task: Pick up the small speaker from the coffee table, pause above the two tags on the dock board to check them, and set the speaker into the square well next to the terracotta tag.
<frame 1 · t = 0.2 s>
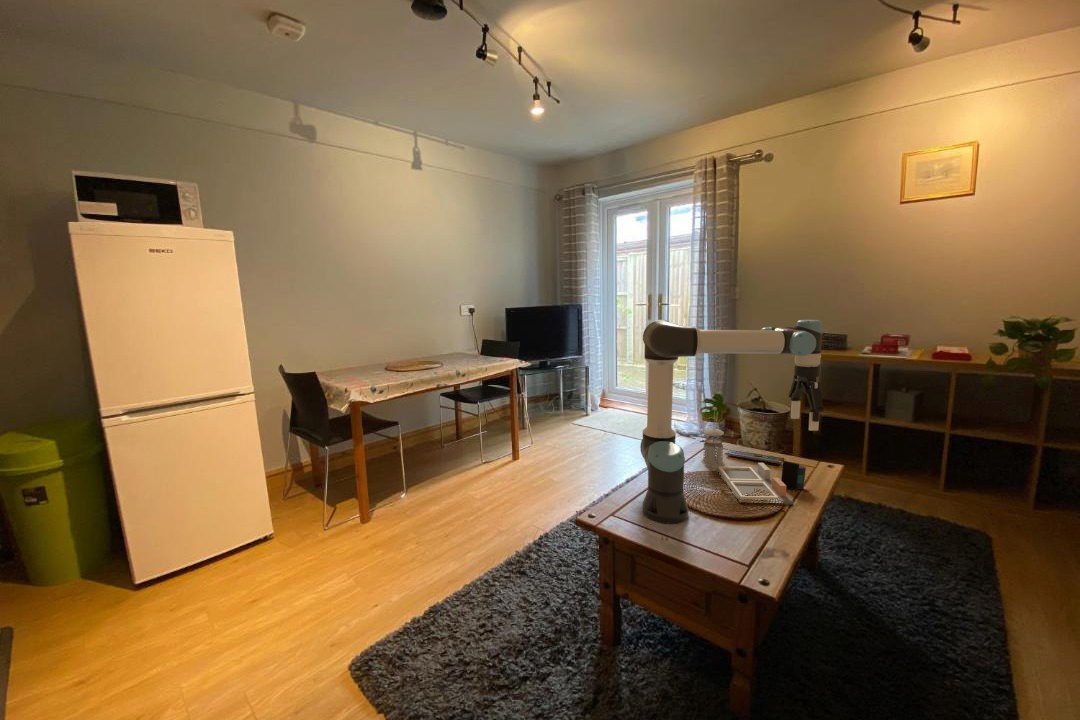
hand: (803, 424, 153), 27 cm above the table, tool pointing down, fingers open, 13 cm apart
speaker: (792, 487, 165), on the table
dock board: (751, 486, 166), on the table
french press: (713, 463, 189), on the table
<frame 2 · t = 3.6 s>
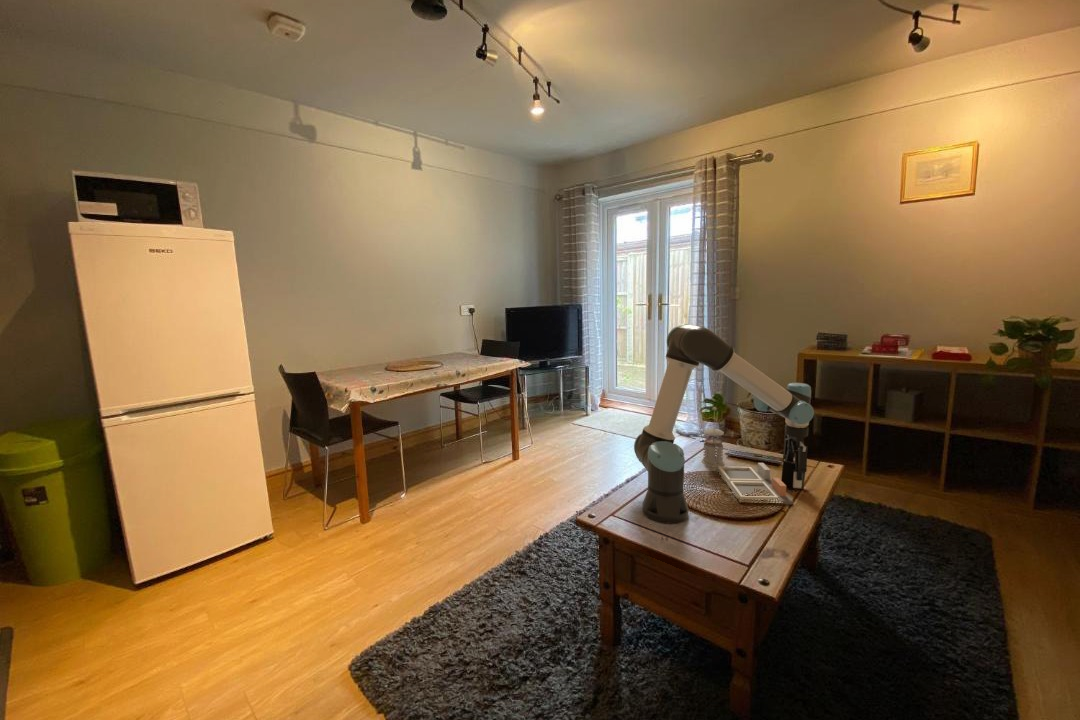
hand: (792, 483, 164), 1 cm above the table, tool pointing down, fingers closed on speaker, 6 cm apart
speaker: (792, 487, 165), on the table, touching gripper
everything else where it was.
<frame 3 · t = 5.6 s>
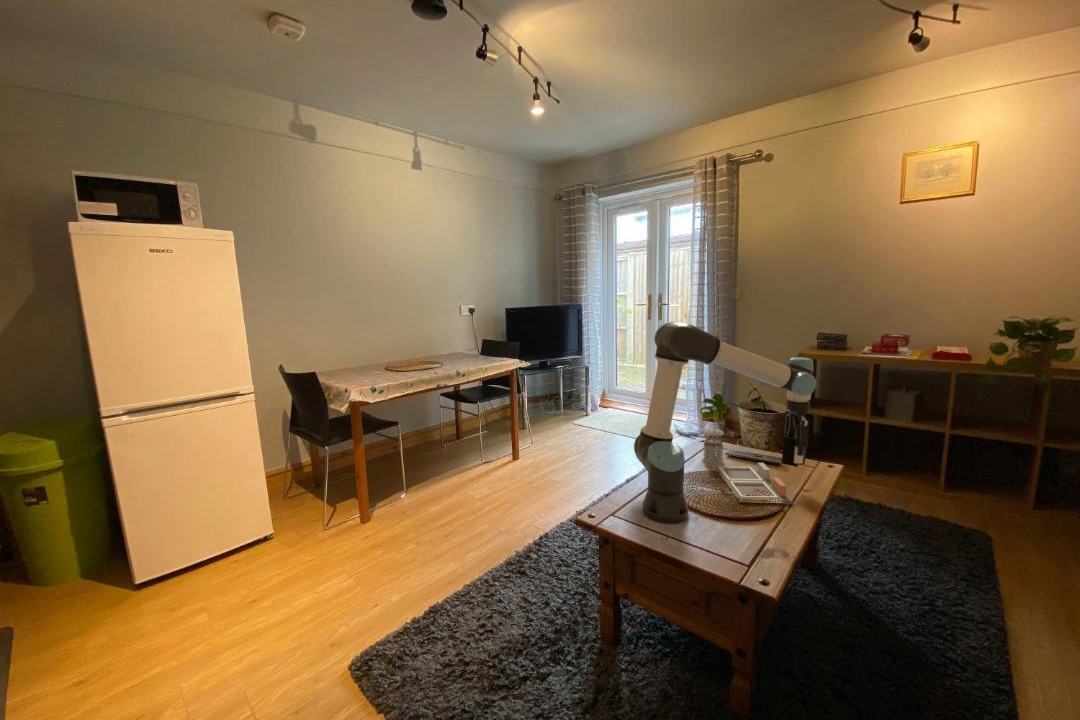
hand: (793, 459, 163), 11 cm above the table, tool pointing down, fingers closed on speaker, 6 cm apart
speaker: (793, 463, 163), point 9 cm above the table, touching gripper
everything else where it was.
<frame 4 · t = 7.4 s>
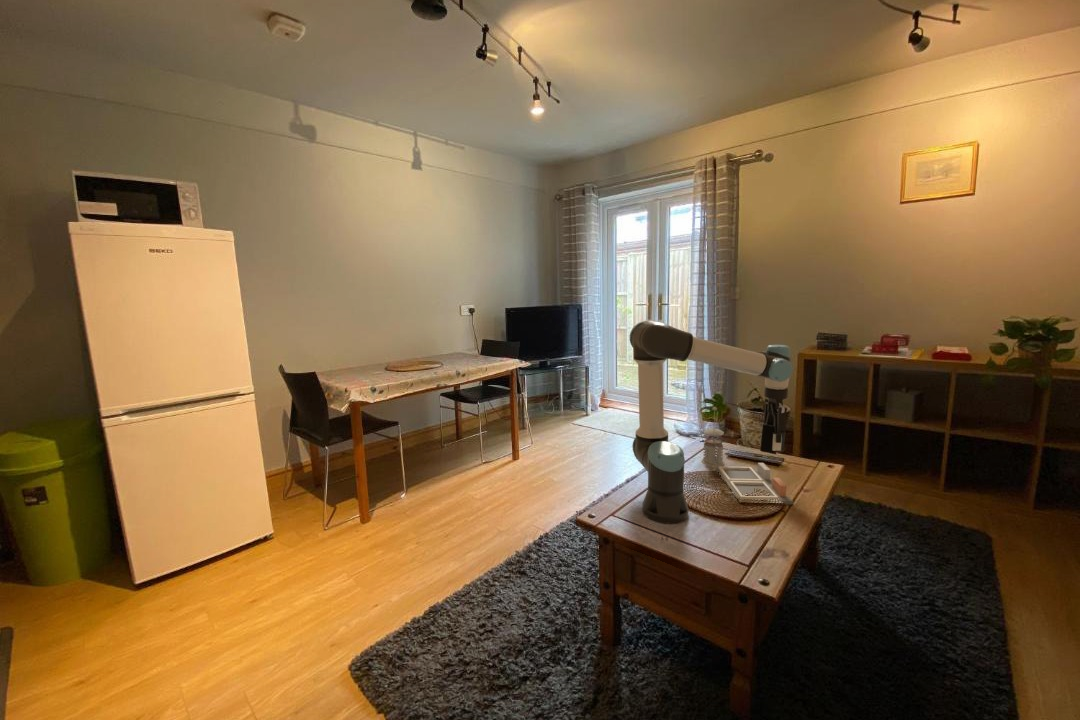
hand: (772, 446, 163), 16 cm above the table, tool pointing down, fingers closed on speaker, 6 cm apart
speaker: (772, 451, 163), point 14 cm above the table, touching gripper
everything else where it was.
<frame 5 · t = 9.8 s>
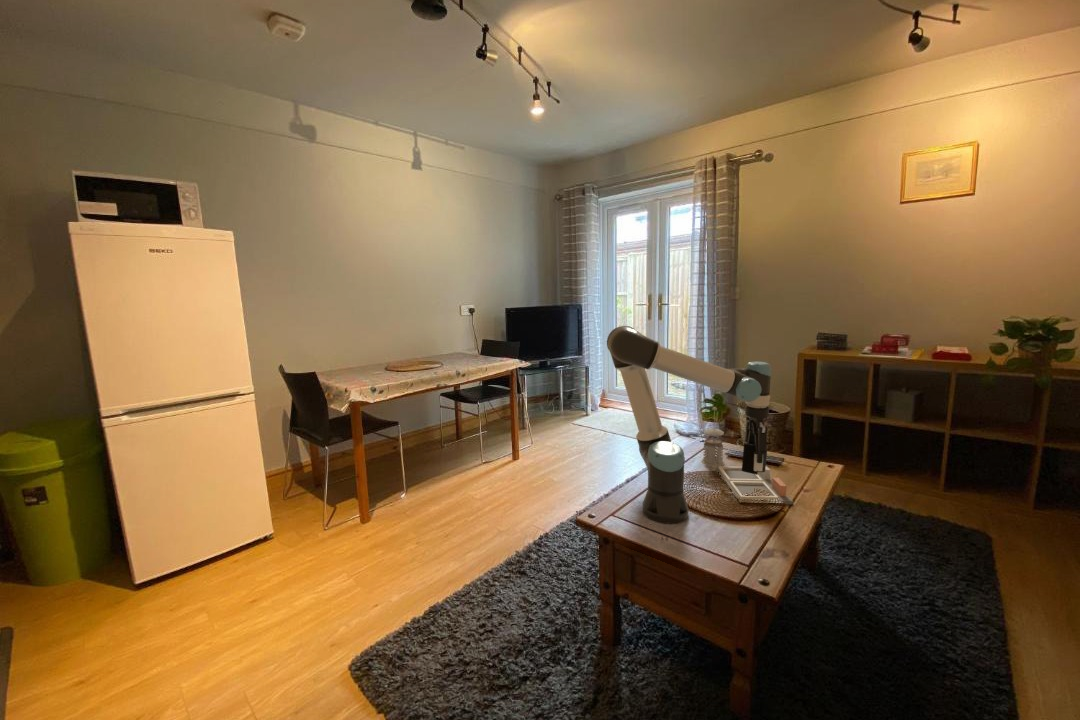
hand: (754, 466, 158), 11 cm above the table, tool pointing down, fingers closed on speaker, 6 cm apart
speaker: (754, 470, 158), point 9 cm above the table, touching gripper
everything else where it was.
when the fingers open (5 cm above the table, at t = 11.6 s): speaker drops 2 cm, resting on dock board.
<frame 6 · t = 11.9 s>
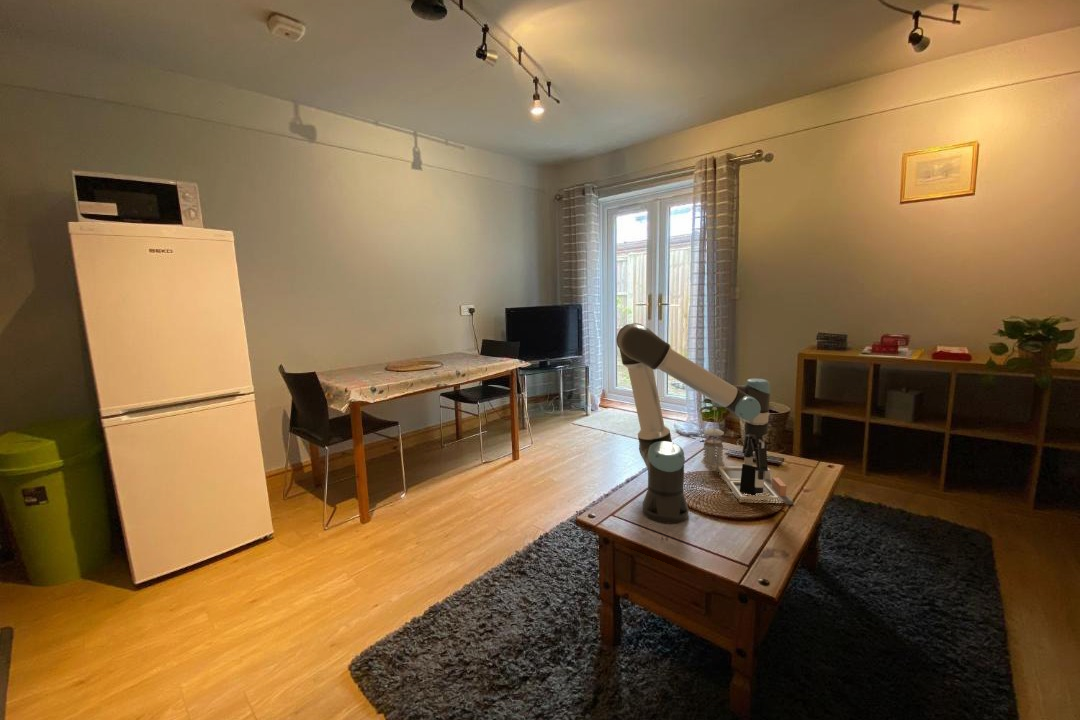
hand: (753, 480, 159), 5 cm above the table, tool pointing down, fingers open, 10 cm apart
speaker: (752, 491, 160), point 1 cm above the table, touching dock board
everything else where it was.
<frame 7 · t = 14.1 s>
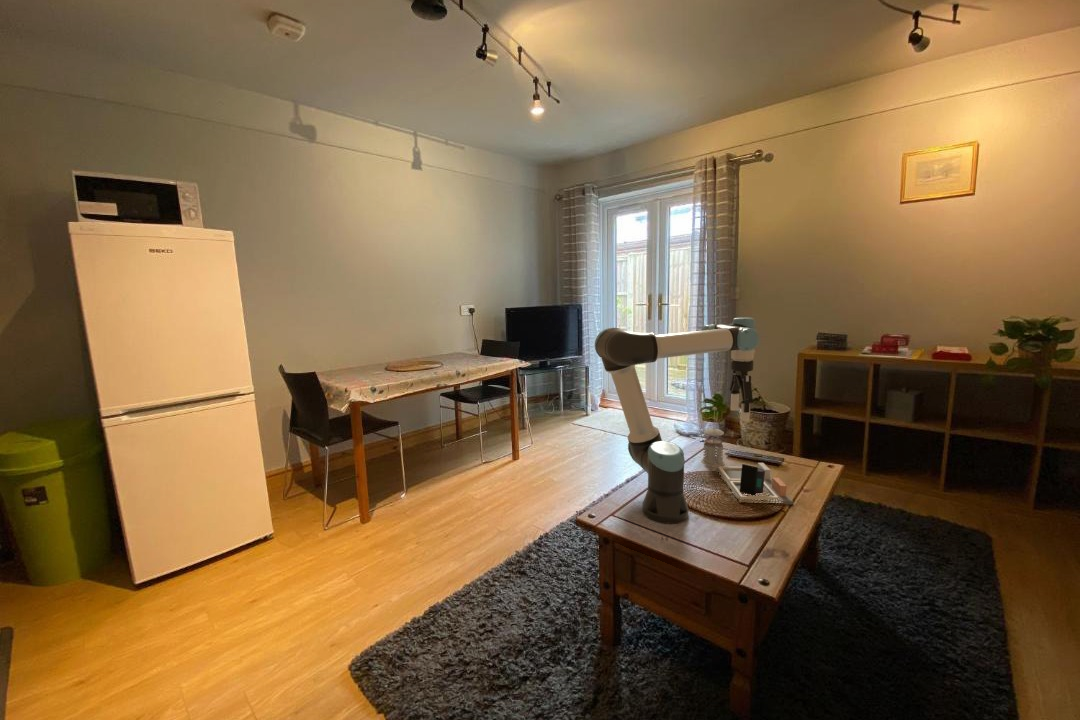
hand: (739, 415, 163), 28 cm above the table, tool pointing down, fingers open, 13 cm apart
nothing on the table moved.
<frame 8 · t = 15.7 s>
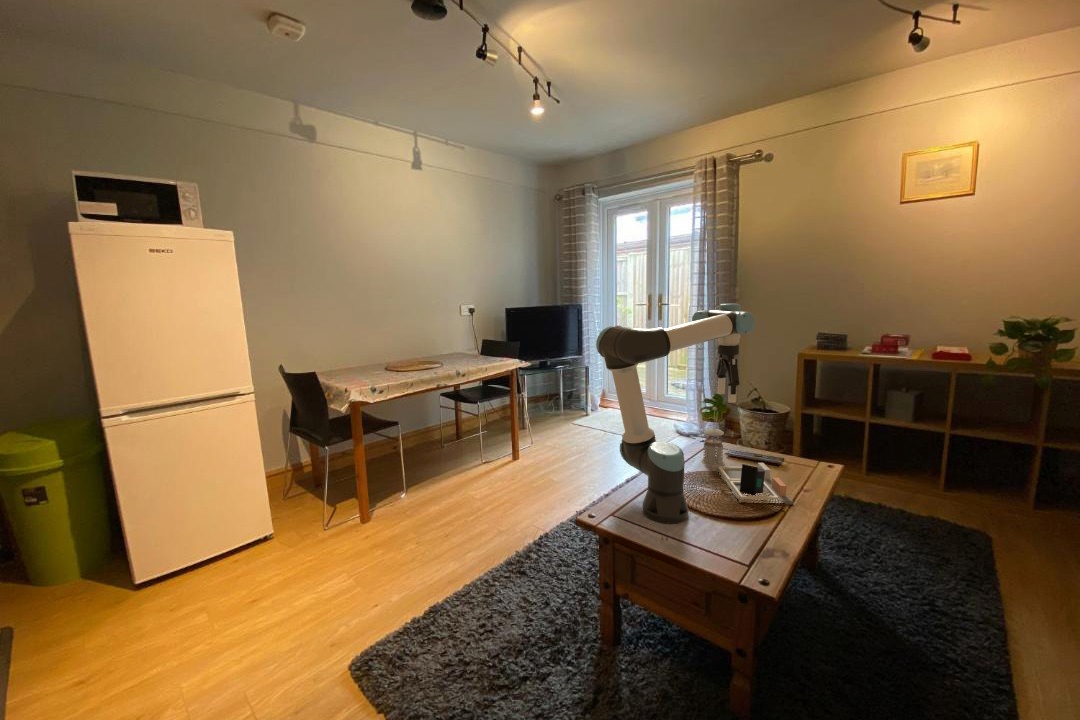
hand: (726, 398, 170), 33 cm above the table, tool pointing down, fingers open, 13 cm apart
nothing on the table moved.
at the end: speaker 0.4 cm from the target spot on the dock board, point 1.0 cm above the dock board's base; speaker tilted 0°; the gripper is holding nothing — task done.
